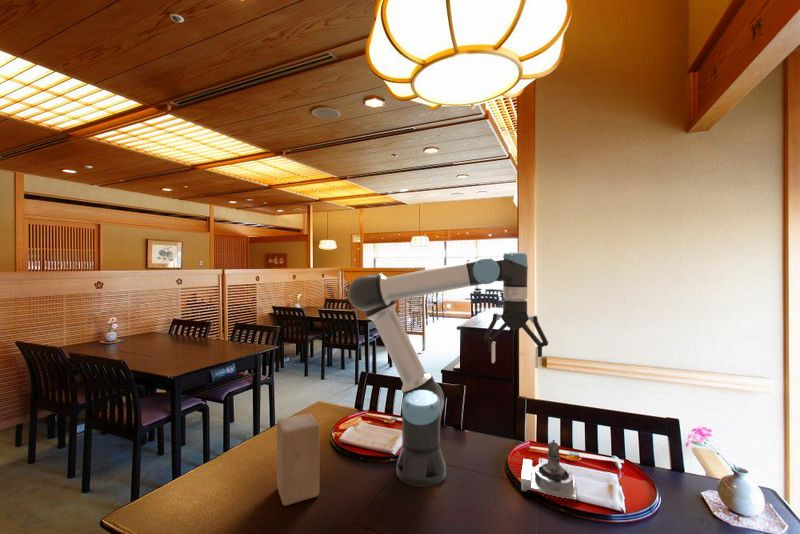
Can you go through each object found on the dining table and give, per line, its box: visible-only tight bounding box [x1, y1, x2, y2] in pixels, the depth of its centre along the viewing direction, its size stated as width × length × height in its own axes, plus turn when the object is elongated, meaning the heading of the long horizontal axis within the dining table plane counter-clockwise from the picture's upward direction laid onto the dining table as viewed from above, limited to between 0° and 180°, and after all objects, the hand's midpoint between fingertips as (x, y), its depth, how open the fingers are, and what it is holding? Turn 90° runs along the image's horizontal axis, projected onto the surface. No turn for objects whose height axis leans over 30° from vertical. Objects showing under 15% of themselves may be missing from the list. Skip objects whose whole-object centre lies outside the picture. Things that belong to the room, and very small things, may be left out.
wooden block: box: [276, 413, 320, 506], centre depth 101 cm, size 10×10×20 cm
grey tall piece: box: [543, 439, 565, 481], centre depth 103 cm, size 6×6×12 cm
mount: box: [520, 458, 577, 499], centre depth 104 cm, size 14×11×4 cm
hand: (514, 364), depth 118 cm, fingers open, 13 cm apart
